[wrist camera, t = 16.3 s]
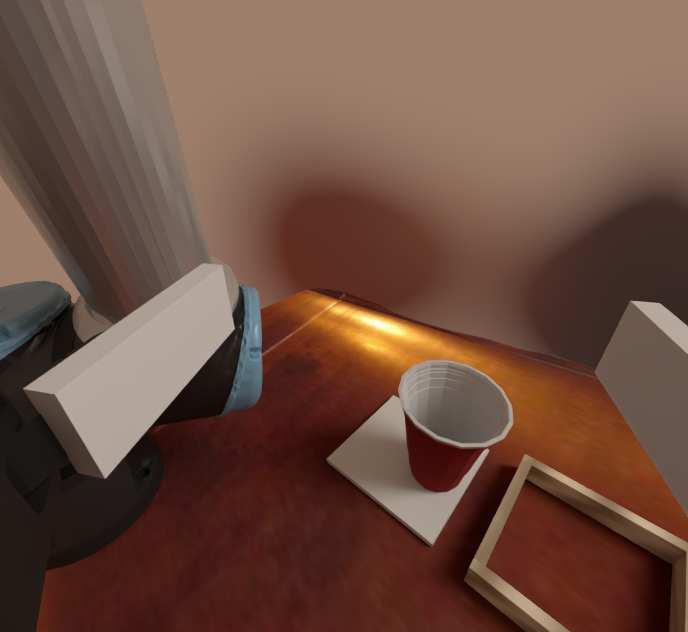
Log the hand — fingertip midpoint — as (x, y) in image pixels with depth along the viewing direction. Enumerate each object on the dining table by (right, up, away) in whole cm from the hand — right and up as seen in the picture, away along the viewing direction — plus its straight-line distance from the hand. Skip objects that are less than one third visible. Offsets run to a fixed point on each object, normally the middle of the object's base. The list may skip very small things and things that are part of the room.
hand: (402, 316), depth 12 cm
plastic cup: (+9, -18, +27) cm, 34 cm away
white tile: (+6, -17, +30) cm, 35 cm away
